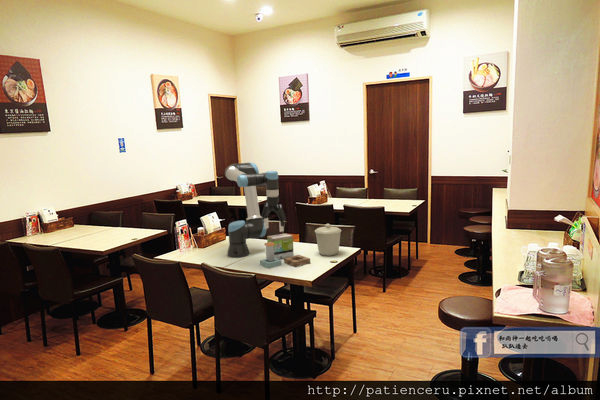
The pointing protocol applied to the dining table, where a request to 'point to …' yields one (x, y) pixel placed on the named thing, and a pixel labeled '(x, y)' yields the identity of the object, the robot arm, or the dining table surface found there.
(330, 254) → the canister
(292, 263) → the tray
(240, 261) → the dining table surface
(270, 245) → the lock pin
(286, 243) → the tea box
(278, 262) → the mount
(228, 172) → the robot arm
